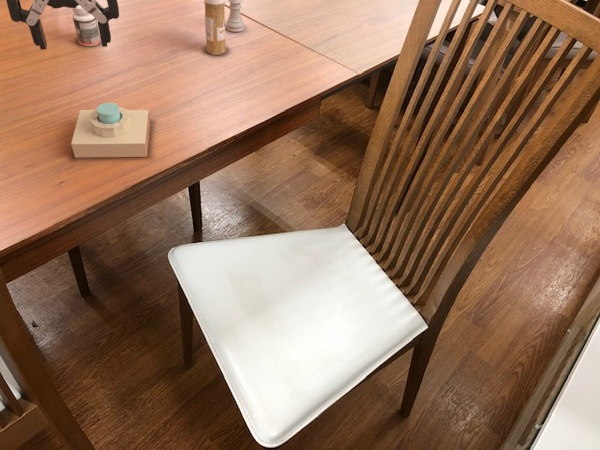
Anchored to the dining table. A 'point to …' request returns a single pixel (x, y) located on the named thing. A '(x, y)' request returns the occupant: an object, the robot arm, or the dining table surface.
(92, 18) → the pill bottle
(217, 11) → the sprinkles bottle
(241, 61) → the dining table surface
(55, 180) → the dining table surface
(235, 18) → the rook chess piece
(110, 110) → the teal button cap
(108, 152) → the button base
